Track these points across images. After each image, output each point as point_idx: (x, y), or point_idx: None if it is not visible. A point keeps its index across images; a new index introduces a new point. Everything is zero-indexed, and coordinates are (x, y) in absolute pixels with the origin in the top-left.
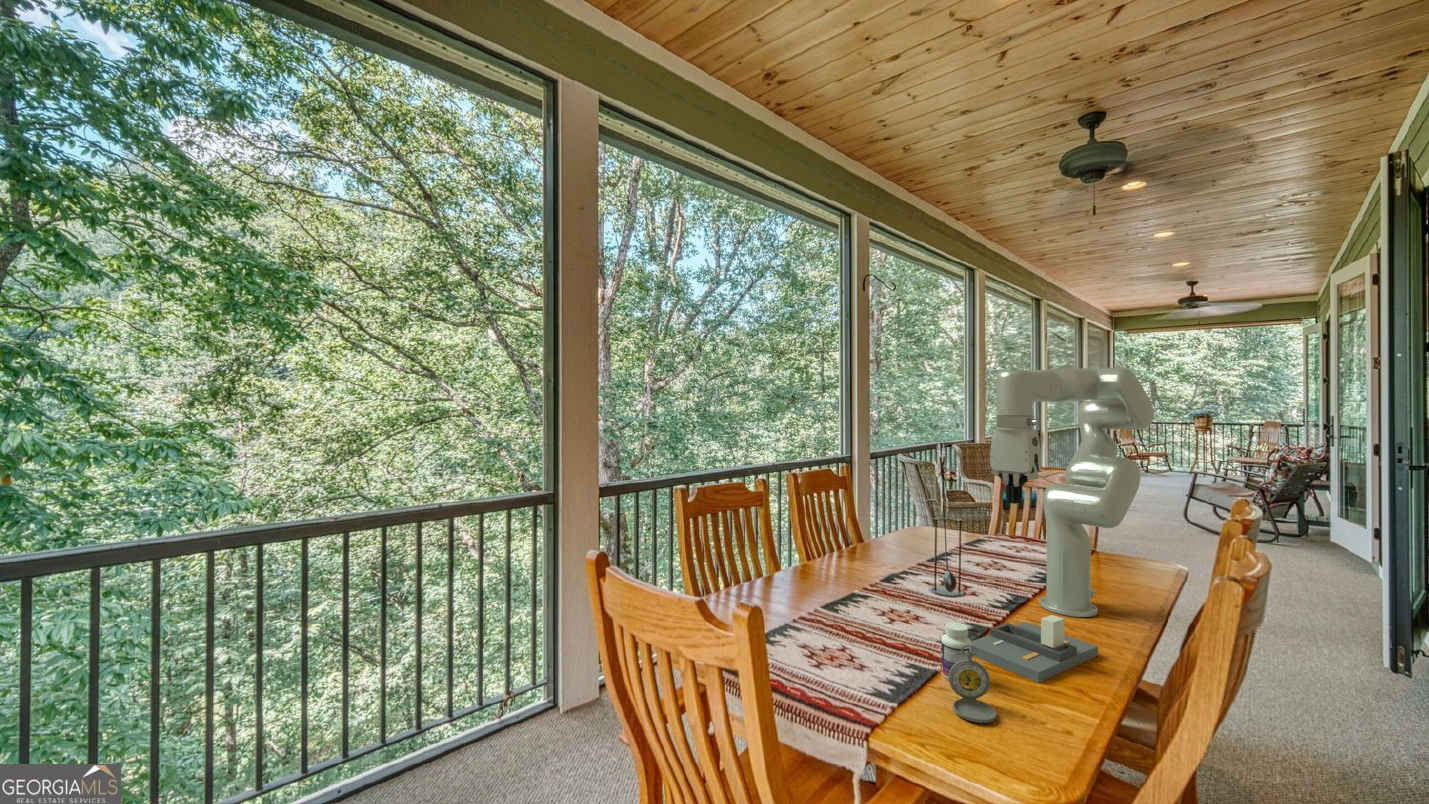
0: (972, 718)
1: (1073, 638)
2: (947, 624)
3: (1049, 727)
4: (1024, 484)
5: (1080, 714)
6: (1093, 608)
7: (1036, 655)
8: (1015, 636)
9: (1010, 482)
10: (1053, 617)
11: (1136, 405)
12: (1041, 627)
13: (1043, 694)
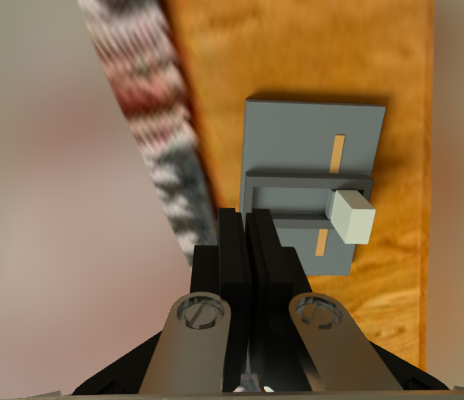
0: None
1: (343, 107)
2: (268, 389)
3: (385, 336)
4: (341, 310)
5: (402, 293)
6: None
7: (327, 233)
8: (287, 223)
9: (233, 386)
10: (359, 220)
11: None
12: (340, 235)
13: (357, 285)
